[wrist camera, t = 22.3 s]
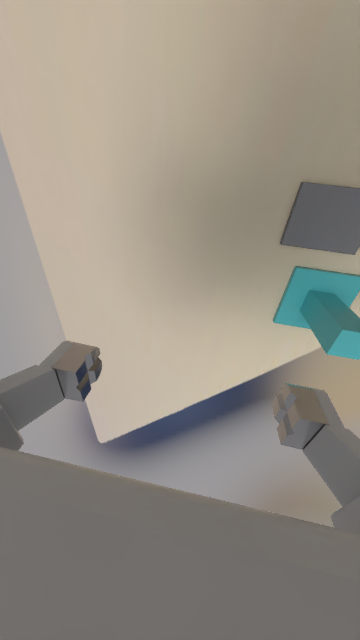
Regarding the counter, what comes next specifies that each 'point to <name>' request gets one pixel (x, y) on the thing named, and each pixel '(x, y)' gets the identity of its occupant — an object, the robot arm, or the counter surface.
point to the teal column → (332, 324)
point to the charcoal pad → (324, 219)
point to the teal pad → (318, 281)
